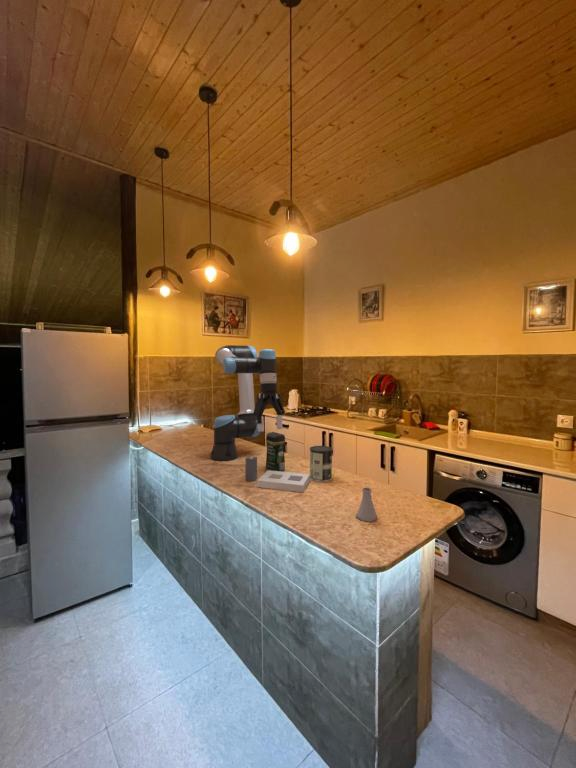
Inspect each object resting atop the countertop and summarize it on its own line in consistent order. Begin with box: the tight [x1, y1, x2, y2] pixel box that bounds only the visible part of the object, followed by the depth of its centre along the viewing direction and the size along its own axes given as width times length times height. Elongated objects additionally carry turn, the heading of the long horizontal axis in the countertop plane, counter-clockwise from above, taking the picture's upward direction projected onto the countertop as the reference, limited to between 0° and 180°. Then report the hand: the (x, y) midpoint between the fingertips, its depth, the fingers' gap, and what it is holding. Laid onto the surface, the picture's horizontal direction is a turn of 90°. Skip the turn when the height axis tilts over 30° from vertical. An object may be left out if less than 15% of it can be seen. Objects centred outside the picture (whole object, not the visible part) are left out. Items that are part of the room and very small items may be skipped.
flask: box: [355, 486, 378, 523], centre depth 113 cm, size 7×7×10 cm
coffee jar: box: [265, 431, 286, 472], centre depth 163 cm, size 10×8×19 cm
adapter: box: [244, 456, 258, 482], centre depth 149 cm, size 4×4×10 cm
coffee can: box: [309, 445, 333, 483], centre depth 151 cm, size 10×10×14 cm
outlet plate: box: [256, 469, 311, 493], centre depth 144 cm, size 14×20×3 cm
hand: (270, 430), depth 147 cm, fingers open, 13 cm apart
